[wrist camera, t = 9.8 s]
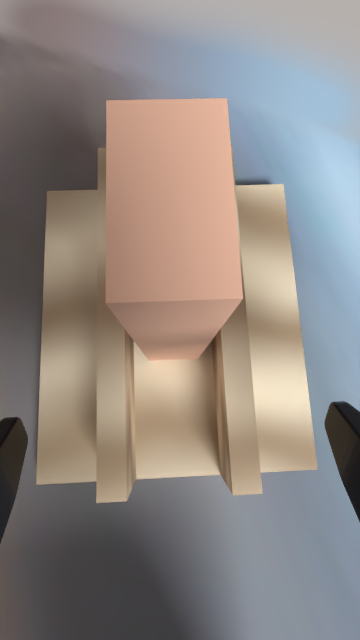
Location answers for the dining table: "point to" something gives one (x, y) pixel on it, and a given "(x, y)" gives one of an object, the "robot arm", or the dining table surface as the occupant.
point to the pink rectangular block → (171, 223)
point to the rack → (169, 365)
